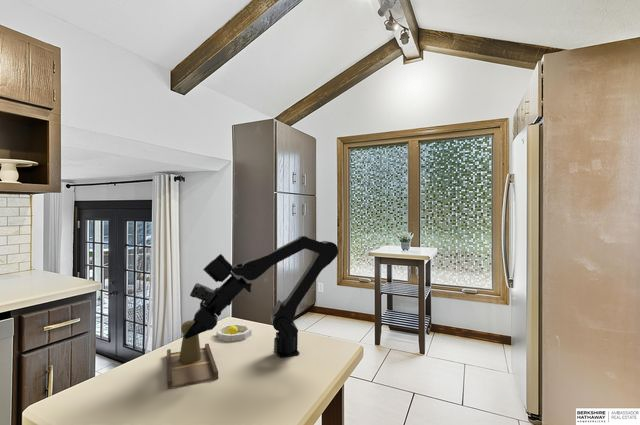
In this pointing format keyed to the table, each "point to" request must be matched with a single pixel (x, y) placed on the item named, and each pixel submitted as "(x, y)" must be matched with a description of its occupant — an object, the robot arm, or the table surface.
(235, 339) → the white dish rim
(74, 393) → the table surface
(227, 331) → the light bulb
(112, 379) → the table surface
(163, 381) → the table surface
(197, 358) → the olive pawn shaped piece
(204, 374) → the channel board
